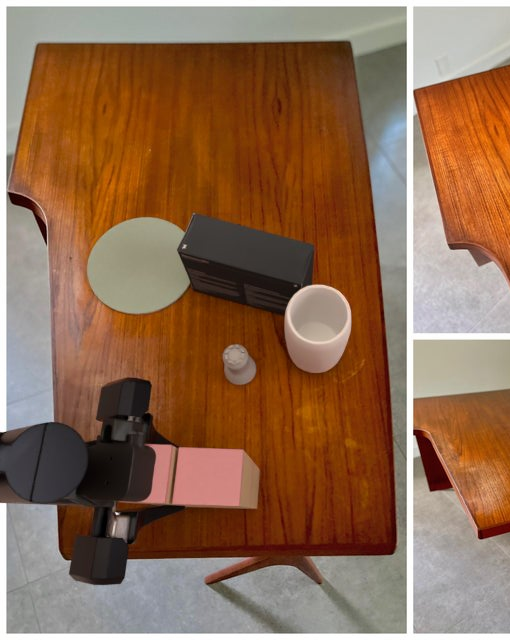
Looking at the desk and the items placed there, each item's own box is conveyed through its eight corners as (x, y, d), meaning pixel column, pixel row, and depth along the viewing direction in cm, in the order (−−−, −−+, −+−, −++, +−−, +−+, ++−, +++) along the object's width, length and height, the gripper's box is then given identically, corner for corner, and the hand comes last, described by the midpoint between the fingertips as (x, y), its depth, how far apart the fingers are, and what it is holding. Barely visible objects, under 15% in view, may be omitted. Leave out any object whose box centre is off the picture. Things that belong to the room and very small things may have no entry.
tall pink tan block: (210, 507, 69) (171, 504, 48) (214, 467, 70) (178, 446, 49) (257, 509, 69) (239, 506, 48) (260, 468, 71) (243, 449, 50)
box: (313, 281, 80) (316, 243, 69) (301, 321, 78) (301, 288, 67) (207, 252, 81) (192, 210, 70) (191, 290, 79) (174, 253, 68)
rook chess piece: (228, 389, 74) (220, 375, 67) (221, 359, 76) (213, 342, 68) (259, 381, 75) (255, 366, 67) (252, 351, 76) (247, 333, 69)
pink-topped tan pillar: (173, 506, 67) (117, 502, 46) (178, 465, 69) (126, 442, 48) (206, 507, 67) (164, 503, 46) (210, 466, 69) (172, 444, 48)
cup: (277, 332, 77) (273, 294, 64) (331, 313, 79) (338, 272, 65) (297, 386, 75) (297, 358, 61) (353, 365, 76) (364, 334, 63)
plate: (97, 327, 76) (96, 326, 76) (80, 233, 82) (79, 231, 81) (207, 298, 79) (206, 297, 78) (183, 208, 84) (183, 206, 83)
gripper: (52, 599, 38) (224, 585, 49) (97, 352, 45) (240, 387, 56) (-2, 583, 46) (159, 574, 56) (44, 372, 52) (180, 399, 63)
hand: (186, 481), depth 58 cm, fingers closed on pink-topped tan pillar, 5 cm apart
